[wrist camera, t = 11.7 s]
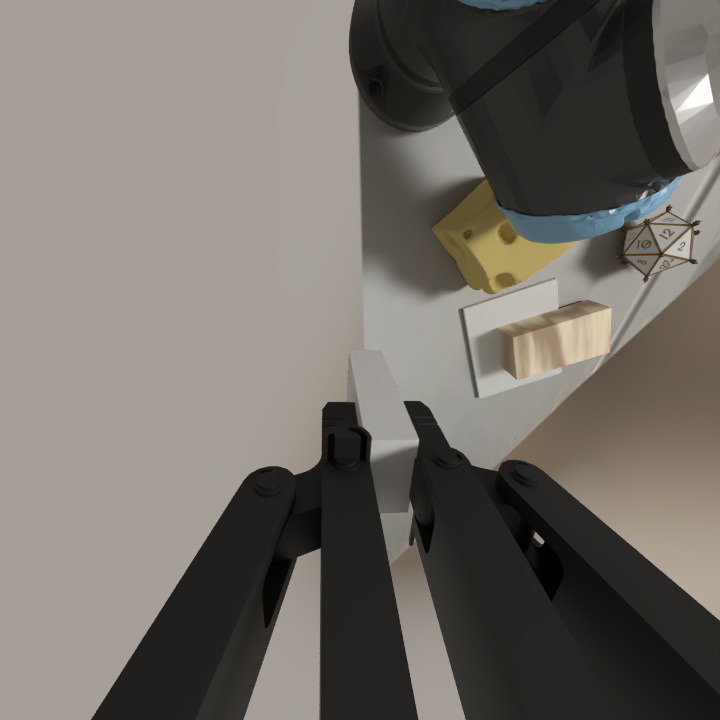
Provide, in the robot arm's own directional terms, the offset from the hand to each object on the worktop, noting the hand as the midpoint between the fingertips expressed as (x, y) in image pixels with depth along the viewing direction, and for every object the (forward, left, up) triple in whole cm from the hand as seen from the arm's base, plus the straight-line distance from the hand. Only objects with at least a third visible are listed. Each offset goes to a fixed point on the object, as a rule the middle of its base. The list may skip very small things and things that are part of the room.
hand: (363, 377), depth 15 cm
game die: (-6, +42, -33) cm, 53 cm away
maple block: (+10, +26, -30) cm, 40 cm away
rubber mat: (+9, +28, -32) cm, 44 cm away
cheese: (-6, +19, -33) cm, 38 cm away
